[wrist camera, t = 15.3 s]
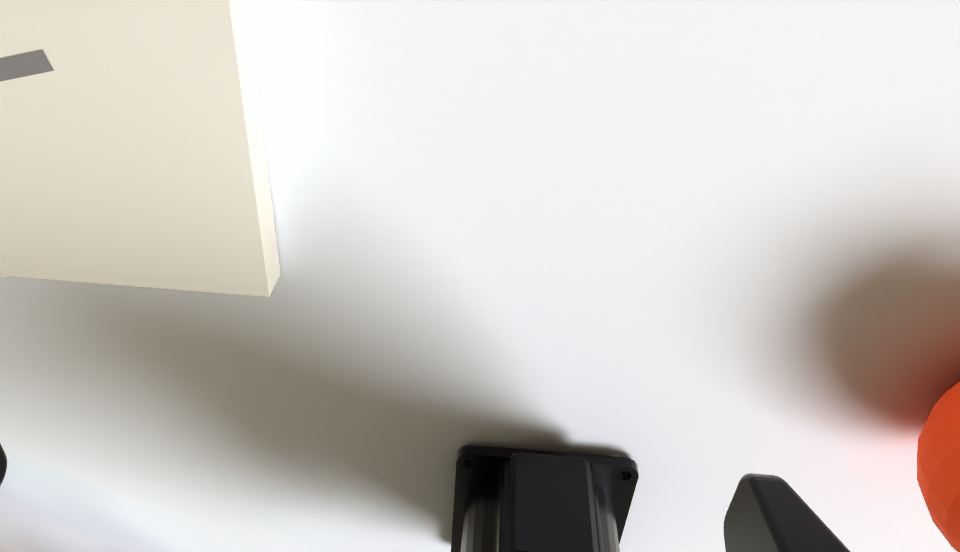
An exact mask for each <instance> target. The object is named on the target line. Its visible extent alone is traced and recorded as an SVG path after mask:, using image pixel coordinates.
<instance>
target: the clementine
mask: <svg viewBox="0 0 960 552" xmlns="http://www.w3.org/2000/svg"><path fill="white" fill-rule="evenodd" d="M917 480H918V483H919V486H920V489H921V491H922V494H923V497H924V499H925V502H926V505H927V507H928V510H929V512H930V515H931V517H932V520H933V522H934V523H935V525H936V526H937V527H938V529H939V530H940V531H941V533H942V534H943V535H944V537H945V538H946V539H947V541H948V542H949V543H950V545H951V546H952V547H953V548H954V549H955V550H956V551H957V552H960V382H958V383H957V384H956V385H954V386H953V387H952V388H950V389H949V390H948V391H946V392H945V393H944V395H943V396H942V397H941V398H940V399H939V400H938V402H937V403H936V404H935V405H934V406H933V408H932V410H931V412H930V415H929V417H928V419H927V421H926V423H925V425H924V428H923V430H922V432H921V434H920V436H919V439H918V451H917Z"/></svg>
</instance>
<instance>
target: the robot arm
mask: <svg viewBox="0 0 960 552" xmlns="http://www.w3.org/2000/svg"><path fill="white" fill-rule="evenodd" d="M470 459H472V460H470ZM6 468H7V459H6V455H5V452H4V450H3V448H2V446H1V444H0V486H1V483H2V481H3V479H4V476H5V473H6ZM622 471H625V472H622ZM637 480H638V468H637V464H636V462H635V461H633V460H632V459H629V458H622V457H610V456H597V455H585V454H573V453H560V452H548V451H535V450H523V449H511V448H498V447H486V446H473V445H470V446H464V447H462V448H461V449H460V450H459V451H458V454H457V464H456V480H455V496H454V512H453V528H452V544H451V552H620V550H619V543H620V540H621V536H622V533H623V529H624V526H625V522H626V519H627V515H628V512H629V508H630V505H631V501H632V498H633V494H634V491H635V487H636V484H637ZM724 539H725V547H726V552H850V551H849V550H848V549H847V548H846V547H845V546H844V544H843V543H842V542H841V541H840V540H839V539H838V538H837V537H836V536H835V535H834V534H833V532H832V531H831V530H830V529H829V528H828V527H827V526H826V525H825V524H824V523H823V522H822V521H821V519H820V518H819V517H818V516H817V515H816V514H815V513H814V512H813V511H812V510H811V509H810V507H809V506H808V505H807V504H806V503H805V502H804V501H803V500H802V499H801V498H800V497H799V495H798V494H797V493H796V492H795V491H794V490H793V489H792V488H791V487H790V486H789V485H788V483H787V482H785V481H784V480H783V479H782V478H780V477H778V476H774V475H763V474H746V475H744V476H743V477H742V478H741V480H740V482H739V484H738V486H737V489H736V491H735V494H734V496H733V499H732V501H731V503H730V506H729V508H728V511H727V513H726V516H725V521H724Z"/></svg>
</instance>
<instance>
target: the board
mask: <svg viewBox="0 0 960 552" xmlns="http://www.w3.org/2000/svg"><path fill="white" fill-rule="evenodd" d="M280 274H281V272H280V264H279V255H278V247H277V239H276V231H275V223H274V214H273V206H272V198H271V190H270V182H269V173H268V165H267V157H266V149H265V141H264V132H263V124H262V116H261V108H260V99H259V91H258V83H257V75H256V67H255V58H254V50H253V42H252V34H251V26H250V17H249V9H248V1H247V0H0V276H8V277H20V278H33V279H45V280H58V281H71V282H83V283H96V284H109V285H121V286H134V287H146V288H159V289H172V290H184V291H197V292H210V293H222V294H235V295H248V296H260V297H270V295H271V293H272V291H273V289H274V287H275V285H276V283H277V281H278V278H279V276H280Z"/></svg>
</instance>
